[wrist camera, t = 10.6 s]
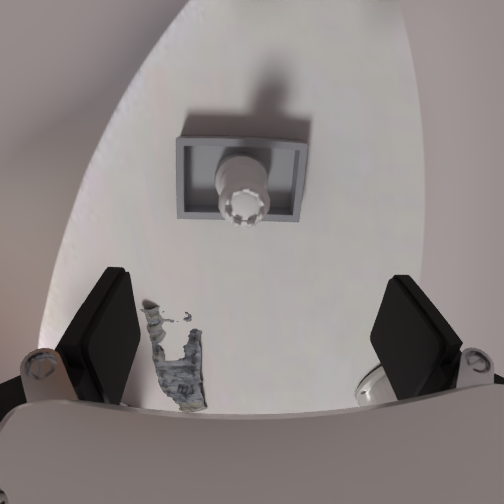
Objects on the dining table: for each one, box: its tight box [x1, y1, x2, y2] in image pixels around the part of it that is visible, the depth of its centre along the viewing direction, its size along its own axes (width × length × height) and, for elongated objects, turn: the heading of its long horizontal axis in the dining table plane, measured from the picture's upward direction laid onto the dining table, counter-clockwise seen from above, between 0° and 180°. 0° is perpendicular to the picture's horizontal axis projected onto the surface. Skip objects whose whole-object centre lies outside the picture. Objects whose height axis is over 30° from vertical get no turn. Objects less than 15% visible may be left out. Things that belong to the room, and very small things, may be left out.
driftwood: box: [140, 306, 207, 412], centre depth 36 cm, size 21×7×2 cm, turn 175°
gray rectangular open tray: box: [176, 135, 308, 222], centre depth 25 cm, size 10×7×2 cm, turn 87°
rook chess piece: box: [215, 153, 270, 227], centre depth 22 cm, size 4×4×8 cm
